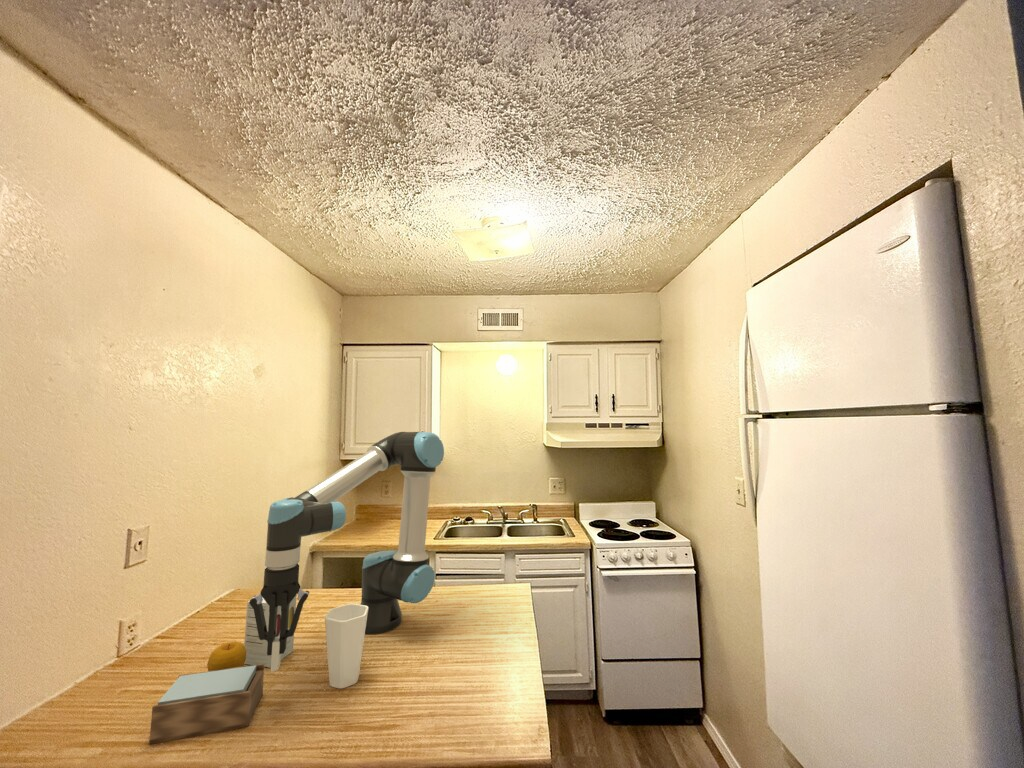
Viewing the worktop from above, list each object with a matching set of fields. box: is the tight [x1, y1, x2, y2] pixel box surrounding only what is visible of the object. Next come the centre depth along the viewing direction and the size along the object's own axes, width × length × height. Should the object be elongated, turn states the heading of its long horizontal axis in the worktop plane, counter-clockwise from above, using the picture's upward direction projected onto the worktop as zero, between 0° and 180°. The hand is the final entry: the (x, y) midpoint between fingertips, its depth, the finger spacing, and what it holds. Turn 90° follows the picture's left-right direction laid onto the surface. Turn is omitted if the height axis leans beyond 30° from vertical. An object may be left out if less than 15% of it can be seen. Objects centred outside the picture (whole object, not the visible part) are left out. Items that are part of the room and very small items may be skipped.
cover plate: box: [157, 665, 256, 705], centre depth 96 cm, size 16×10×2 cm, turn 107°
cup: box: [324, 603, 368, 689], centre depth 111 cm, size 11×10×17 cm
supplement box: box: [243, 594, 298, 669], centre depth 122 cm, size 10×9×17 cm
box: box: [148, 664, 265, 745], centre depth 96 cm, size 18×12×7 cm, turn 107°
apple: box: [206, 641, 246, 671], centre depth 111 cm, size 8×8×9 cm
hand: (275, 667), depth 100 cm, fingers closed
